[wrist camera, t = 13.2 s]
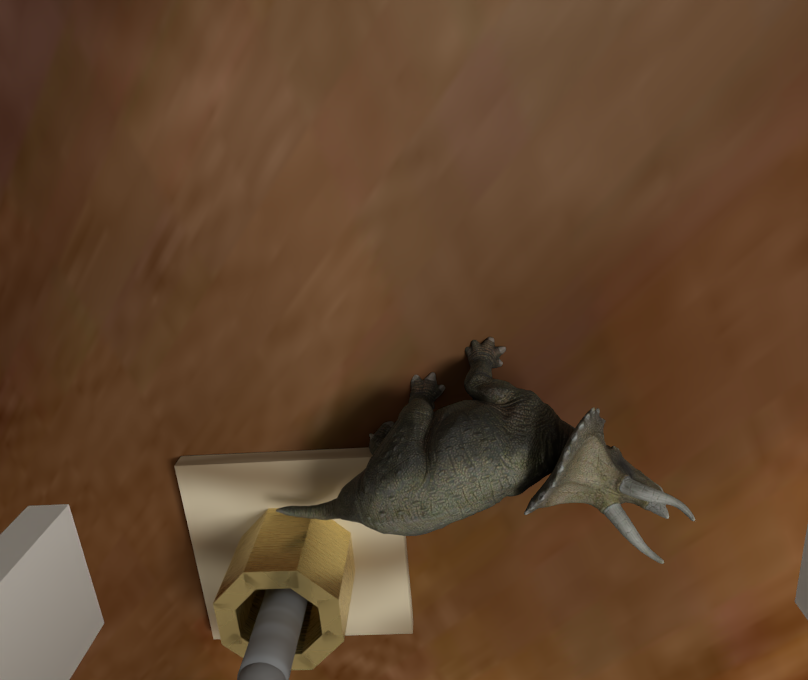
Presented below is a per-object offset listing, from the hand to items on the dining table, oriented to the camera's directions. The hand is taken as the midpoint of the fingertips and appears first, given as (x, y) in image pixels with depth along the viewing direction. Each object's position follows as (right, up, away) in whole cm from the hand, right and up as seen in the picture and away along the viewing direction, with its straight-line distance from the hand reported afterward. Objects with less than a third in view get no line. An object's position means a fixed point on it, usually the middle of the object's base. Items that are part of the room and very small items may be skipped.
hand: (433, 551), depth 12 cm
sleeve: (-7, -10, +32) cm, 34 cm away
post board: (-7, -10, +33) cm, 35 cm away
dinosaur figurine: (+2, 0, +29) cm, 29 cm away
